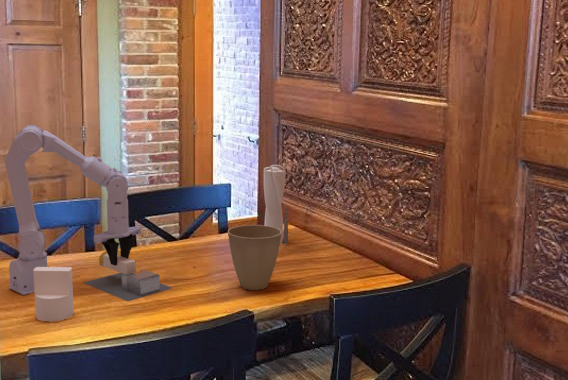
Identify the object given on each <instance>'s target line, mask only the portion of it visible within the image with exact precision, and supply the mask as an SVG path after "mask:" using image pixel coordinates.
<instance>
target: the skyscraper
mask: <svg viewBox="0 0 568 380" xmlns="http://www.w3.org/2000/svg"><path fill="white" fill-rule="evenodd" d="M280 168H281V169H282V170H281V169H280ZM285 183H286V169H285V168H284V166H282V165H280V164H271V165H270V166H267V167H264V168H263V194H264V203H265V204H264V205H265V210H264V211H265V212H264V224H263V225H264V226H271V227H275V228H278V229H280V230H281V231H282V234H281V240H280V244H281V243H282V244H283V245H284V244H287V243H288V242H289V219H288V207H287V206H286V207H285V212H284V215H285V216H283V208H282V203H283V199H284V194H285ZM283 217H284V220H283ZM283 223H284V224H283ZM288 244H289V243H288ZM288 244H287V245H288ZM287 245H284V248H285V247H286V246H287Z"/></svg>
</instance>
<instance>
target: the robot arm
mask: <svg viewBox="0 0 568 380" xmlns="http://www.w3.org/2000/svg"><path fill="white" fill-rule="evenodd" d="M15 135H16V136H15V137H14V138H13V140H12V143H11V144H10V147H9V149H8V151H7V154H6V156H5V157H4V164H5V171H6V173H7V178H8V182H9V186H10V187H9V188H10V191H11V192H10V193H11V196H12V200H13V205H14V209H15V214H16V218H17V223H18V232H19V233H18V234H19V244H18V252H19V253H18V257H17V258H16V259H13V260H11V261H10V262H9V265H8V267H9V268H8V271H9V286H8V288H9V289H10V290H13V292H17V293H19V294H21V295H23V296H25V295H29V294H31V293H35V292H34V272H33V270H34V269H35V268H36V267H48V253H47V252H46V251H45V249H44V247H45V244H46V236H45V233H44V232H43V231H42V230H41V227H40V224H39V222H38V219H37V216H36V209H35V206H34V201H33V196H32V192H31V188H30V187H31V186H30V183H29V178H28V173H27V169H26V164H25V163H26V162H28V160H29V158H30V157H31V156H33V154H36V153H37V152H38V151H40V149H41V148H42V151H41V152H42V153H55V154H57V155H59V156H60V157H62V158H63V159H66V160H67V161H68V162H71V163H72V164H74V165H75V166H78V167H79V169H80V173H81V175H82V176H85V177H86V178H88V179H89V180H91V181H92V182H94V183H95V184H97V185H99V186H100V187H105V188H106V192H107V199H106V216H107V217H106V218H107V221H106V222H107V224H106V225H107V230H106V231H104V232H101V233H98V234H95V235H93V243H95V244H102V245H103V248H104V249H105V251H107V253H108V256H109V259H110V263H111V264H112V265H117V252H118V250H119V249H120V250H119V251H120V252H121V256H122V257H125V258H128V259H130V254H131V250H132V248H133V245H134V243H135V242H136V237H135V235H142V233H143V231H142V227H141V226H138V225H137V226H132V227H131V226H129V223H130V222H129V200H128V190H129V183H128V179H127V176H125V174H124V173H123V172H122V171H120V170H118V169H117V168H116V167H110V165H108V164H106V163H105V162H103V159H102V157H100V156H97V157H96V156H85V155H84V154H82V153H81V152H79V151H78V150H76V149H75V148H74V147H72V146H71V145H69V144H68V143H66V142H65V140H64V141H63V140H62V139H61V138H59V136H56V135H54V134H53V133H52V132H49V131H47V130H45V129H44V130H43V129H42V128H41V127H40V126H38V125H35V124H28V125H26V126H24V127H23V128H22V129H20V131H19V132H18V133H17V134H15ZM116 240H118V242H117V241H116Z"/></svg>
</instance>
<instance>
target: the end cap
mask: <svg viewBox="0 0 568 380" xmlns="http://www.w3.org/2000/svg"><path fill="white" fill-rule="evenodd" d="M160 277H161V276H160V274H158V273H155V272H153V271H151V270H145V269H142V270H141V271H140V272H139V273H134V275H130V276H126V275H123V276H122V290H127V291H130V292H132V293H134V294H137V295H139V296H142V295H146V294H149V293H153V292H156V291H159V290H160V282H161V281H160Z"/></svg>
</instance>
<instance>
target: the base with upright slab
mask: <svg viewBox="0 0 568 380" xmlns="http://www.w3.org/2000/svg"><path fill="white" fill-rule="evenodd" d="M33 272H34V292H33V293H34V310H35V319H36V318H37V319H38V320H37V319H36V320H37V321H39V320H41V321H40V322H43V321H50V322H49V323H52V322H51V321H58V322H61V321H60V320H63V321H65V320H64V319H67V318H69V319H70V317H71V316H72V315H73V316H74V309H75V308H74V289H73V268H72V267H69V266H65V267H64V266H56V267H55V266H47V267H36V268H35V269H34V270H33ZM73 316H72V317H73ZM72 317H71V318H72ZM67 320H68V319H67Z"/></svg>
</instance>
